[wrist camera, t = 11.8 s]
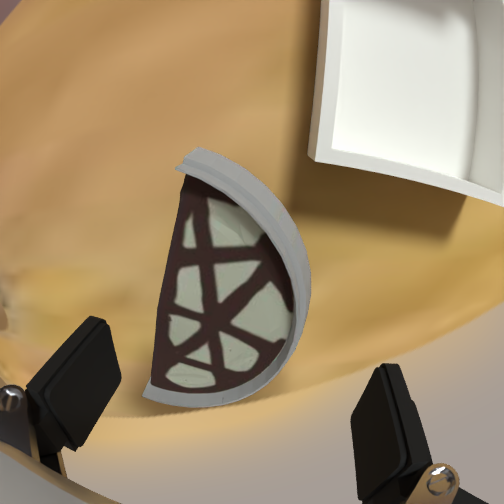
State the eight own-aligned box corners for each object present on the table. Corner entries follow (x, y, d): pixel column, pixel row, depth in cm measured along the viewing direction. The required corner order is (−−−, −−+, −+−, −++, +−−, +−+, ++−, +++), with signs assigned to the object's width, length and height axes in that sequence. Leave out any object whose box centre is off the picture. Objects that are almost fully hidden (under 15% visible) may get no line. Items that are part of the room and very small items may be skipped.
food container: (266, 327, 22) (254, 437, 13) (190, 303, 22) (141, 402, 13) (327, 172, 18) (376, 215, 8) (233, 141, 17) (179, 149, 8)
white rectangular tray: (306, 154, 17) (314, 161, 13) (323, -61, 10) (329, -95, 6) (469, 191, 17) (505, 207, 12) (473, -9, 10) (502, -25, 6)
